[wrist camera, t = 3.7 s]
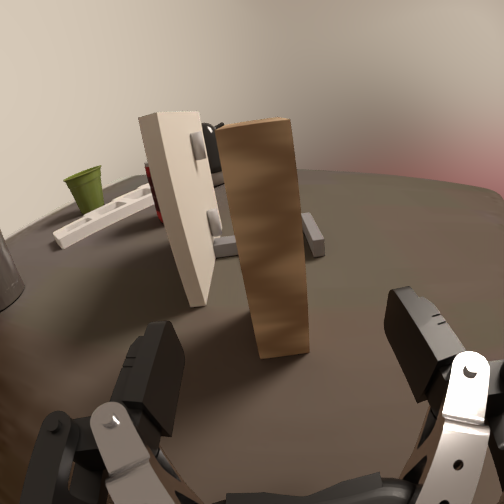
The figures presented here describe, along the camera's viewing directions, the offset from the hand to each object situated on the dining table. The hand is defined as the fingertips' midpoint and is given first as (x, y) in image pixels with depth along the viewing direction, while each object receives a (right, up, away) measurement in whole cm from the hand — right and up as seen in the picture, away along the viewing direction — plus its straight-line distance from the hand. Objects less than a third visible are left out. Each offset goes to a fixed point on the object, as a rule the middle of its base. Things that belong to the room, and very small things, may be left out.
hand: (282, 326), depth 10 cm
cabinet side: (0, +3, +23) cm, 24 cm away
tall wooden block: (+1, -3, +12) cm, 12 cm away
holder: (-30, +14, +57) cm, 66 cm away
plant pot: (-46, +14, +61) cm, 77 cm away
